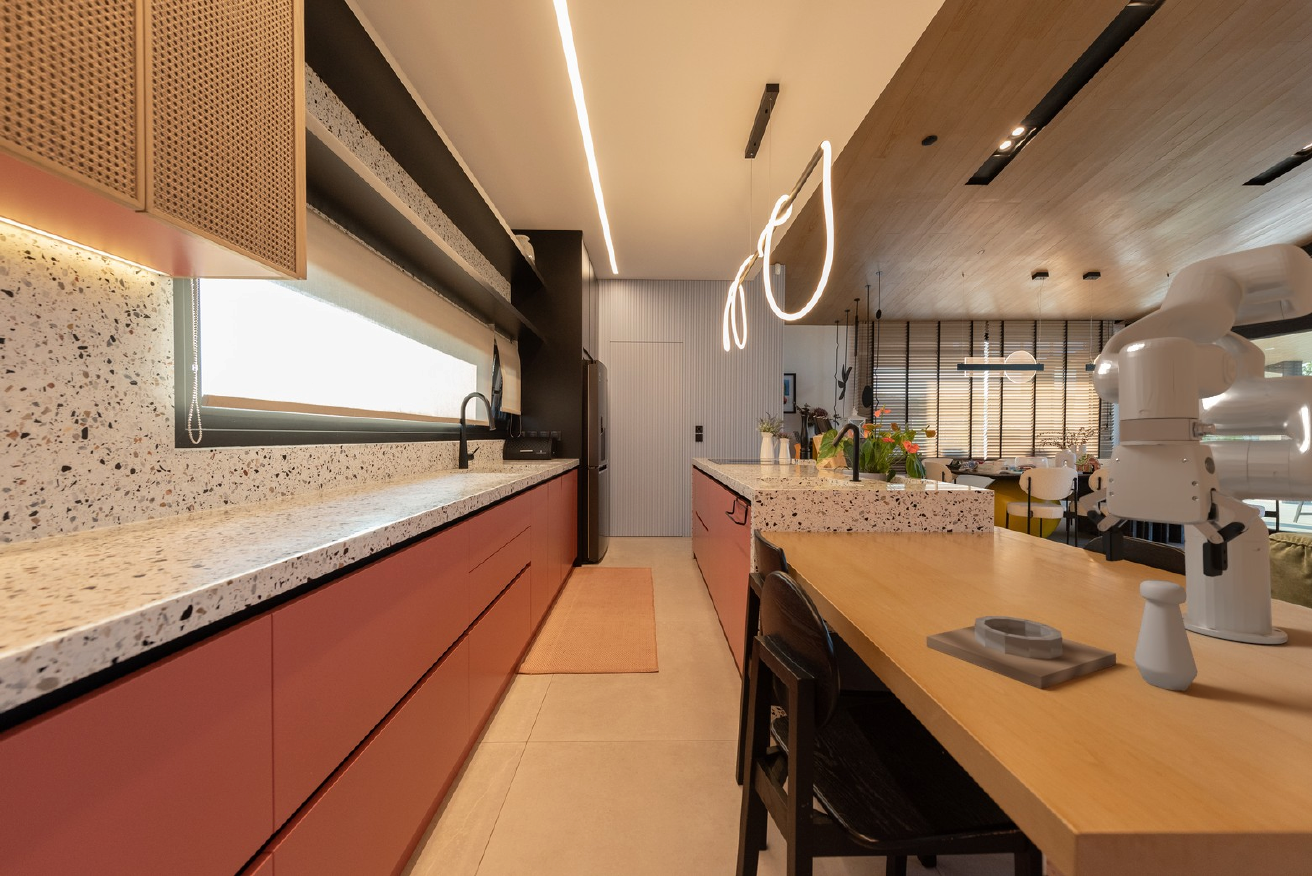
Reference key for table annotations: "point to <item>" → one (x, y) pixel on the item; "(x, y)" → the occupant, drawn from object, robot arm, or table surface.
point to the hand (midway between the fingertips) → (1160, 567)
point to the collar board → (1022, 665)
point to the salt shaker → (1164, 638)
